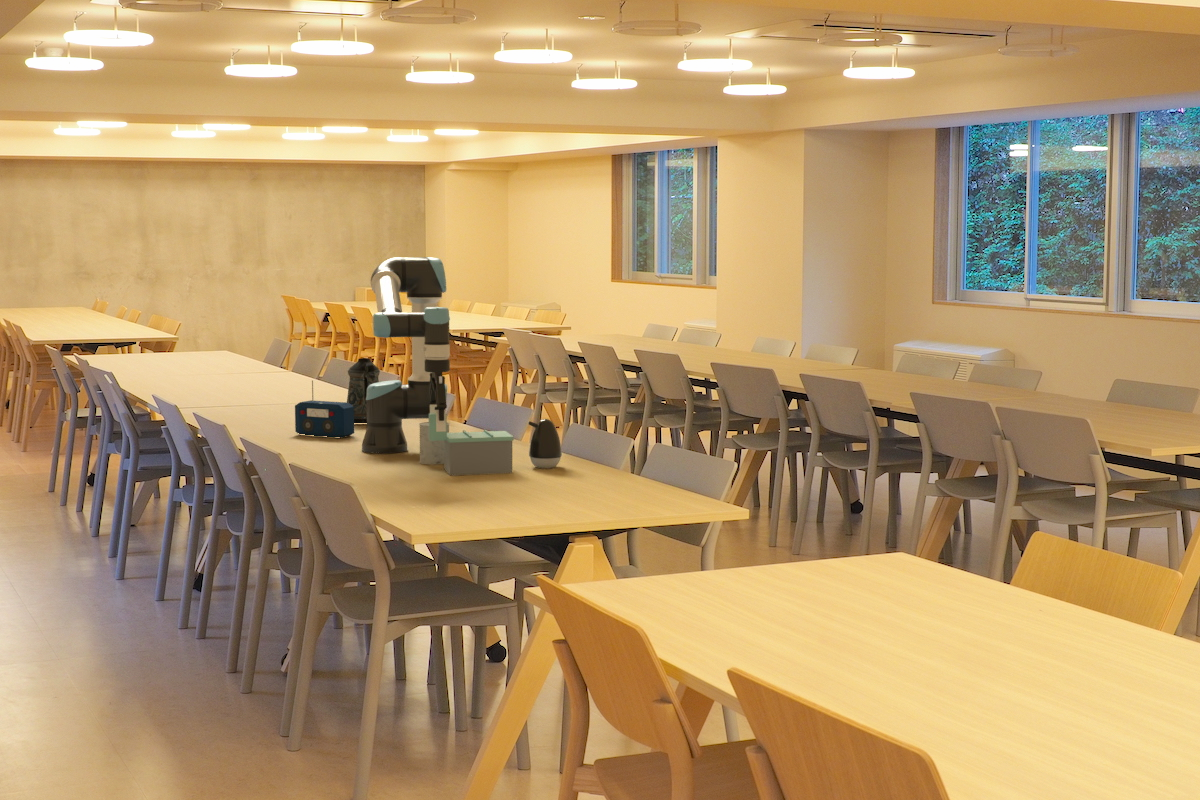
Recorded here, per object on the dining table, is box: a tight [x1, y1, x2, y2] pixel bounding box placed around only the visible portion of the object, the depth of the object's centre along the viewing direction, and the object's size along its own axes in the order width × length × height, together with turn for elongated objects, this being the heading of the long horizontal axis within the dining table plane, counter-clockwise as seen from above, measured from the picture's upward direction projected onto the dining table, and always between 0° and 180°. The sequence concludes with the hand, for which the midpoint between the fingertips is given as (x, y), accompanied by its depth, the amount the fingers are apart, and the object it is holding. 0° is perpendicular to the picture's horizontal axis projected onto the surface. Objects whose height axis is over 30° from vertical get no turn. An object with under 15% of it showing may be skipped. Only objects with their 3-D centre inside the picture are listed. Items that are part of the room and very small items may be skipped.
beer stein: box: [346, 357, 381, 423], centre depth 501 cm, size 16×19×25 cm
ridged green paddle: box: [428, 413, 515, 443], centre depth 391 cm, size 13×25×8 cm, turn 105°
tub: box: [443, 440, 513, 476], centre depth 393 cm, size 12×19×10 cm, turn 105°
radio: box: [294, 380, 355, 439], centre depth 465 cm, size 21×9×20 cm, turn 67°
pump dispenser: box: [527, 418, 563, 469], centre depth 400 cm, size 10×10×15 cm
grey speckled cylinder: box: [418, 421, 450, 465], centre depth 409 cm, size 10×10×12 cm
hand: (437, 428), depth 389 cm, fingers open, 13 cm apart
